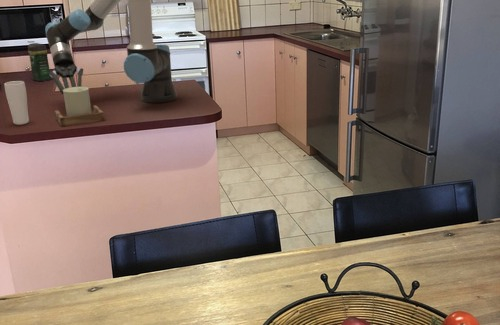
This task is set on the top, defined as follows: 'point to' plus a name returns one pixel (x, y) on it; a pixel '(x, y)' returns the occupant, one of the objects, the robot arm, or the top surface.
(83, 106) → the can
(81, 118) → the corral
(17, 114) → the drinking glass
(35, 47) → the coffee jar
